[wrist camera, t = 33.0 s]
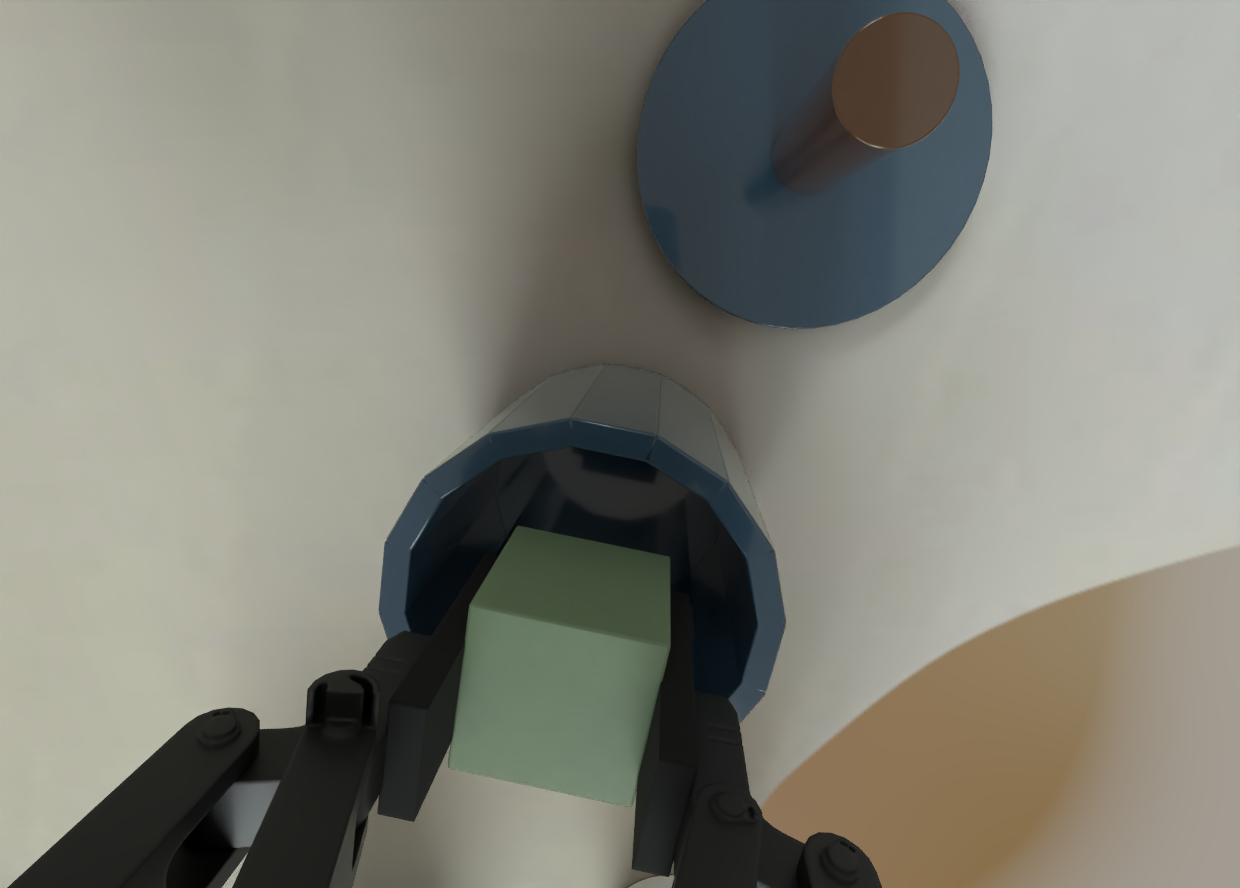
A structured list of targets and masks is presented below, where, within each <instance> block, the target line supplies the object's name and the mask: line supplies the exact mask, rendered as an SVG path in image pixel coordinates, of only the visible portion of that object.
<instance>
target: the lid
mask: <svg viewBox="0 0 1240 888" xmlns="http://www.w3.org/2000/svg"><path fill="white" fill-rule="evenodd" d="M991 138H992V104H991V97H990V91H989V84H988V79H987V76H986V72H985V69H984V65H983V62H982V58H981V56H980V53H979V51H978V49H977V47H976V44H975V42H974V40H973V38H972V35H971V34H970V32H969V30H968V29H967V27H966V26H965V24H964V23H963V21H962V19H961V18H960V16H959V15H958V13H957V12H956V11H955V10H954V9H953V7H952V6H951V5H950V4H949V3H948V2H947V1H946V0H707V1H706V2H705V3H704V4H703V5H702V6H701V7H699V8H698V9H697V10H696V11H695V12H694V13H693V15H692V16H691V17H690V18H689V19H688V21H687V22H686V23H685V24H684V25H683V27H682V28H681V29H680V30H679V32H678V33H677V34H676V36H675V38H674V39H673V41H672V42H671V44H670V45H669V47H668V48H667V50H666V52H665V53H664V55H663V57H662V59H661V61H660V63H659V65H658V67H657V69H656V71H655V74H654V76H653V78H652V81H651V84H650V86H649V89H648V92H647V95H646V98H645V101H644V105H643V110H642V115H641V119H640V124H639V132H638V143H637V175H638V182H639V188H640V195H641V200H642V203H643V207H644V211H645V214H646V218H647V221H648V223H649V225H650V228H651V230H652V233H653V235H654V237H655V240H656V242H657V243H658V245H659V247H660V249H661V250H662V252H663V254H664V255H665V257H666V259H667V260H668V262H669V263H670V264H671V265H672V267H673V268H674V269H675V271H676V272H677V273H678V275H679V276H680V277H681V278H682V279H683V280H684V281H685V282H686V283H687V284H688V285H689V286H690V287H691V288H692V289H693V290H694V291H695V292H697V293H698V294H699V295H701V296H702V297H703V298H705V299H706V300H707V301H709V302H710V303H711V304H713V305H715V306H717V307H718V308H720V309H722V310H724V311H726V312H727V313H729V314H731V315H734V316H736V317H739V318H741V319H744V320H747V321H749V322H753V323H757V324H761V325H765V326H769V327H777V328H787V329H810V328H819V327H826V326H832V325H837V324H840V323H844V322H847V321H851V320H854V319H857V318H860V317H862V316H864V315H867V314H869V313H871V312H874V311H876V310H878V309H880V308H882V307H883V306H885V305H887V304H889V303H890V302H892V301H894V300H895V299H897V298H899V297H900V296H901V295H903V294H904V293H905V292H907V291H908V290H909V289H911V288H912V287H913V286H915V285H916V284H917V283H918V282H919V281H920V280H921V279H922V278H924V277H925V276H926V275H927V274H928V273H929V272H930V271H931V270H932V269H933V268H934V267H935V266H936V265H937V263H938V262H939V261H940V260H941V259H942V257H943V256H944V255H945V254H946V253H947V251H948V250H949V249H950V248H951V246H952V245H953V243H954V242H955V240H956V239H957V237H958V236H959V234H960V233H961V231H962V229H963V228H964V226H965V224H966V222H967V220H968V218H969V216H970V214H971V212H972V210H973V208H974V206H975V204H976V201H977V198H978V195H979V193H980V190H981V187H982V184H983V182H984V178H985V173H986V169H987V165H988V161H989V156H990V147H991Z"/></svg>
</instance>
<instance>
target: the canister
mask: <svg viewBox="0 0 1240 888" xmlns="http://www.w3.org/2000/svg"><path fill="white" fill-rule="evenodd" d="M517 526H523V527H527V528H532V529H537V530H542V531H547V532H552V533H557V534H562V535H566V536H571V537H576V538H581V539H586V540H591V541H596V542H601V543H605V544H610V545H615V546H620V547H625V548H630V549H635V550H640V551H644V552H649V553H654V554H659V555H664V556H668V557H670V591H673V592H678V593H683V594H688V595H689V606H690V624H691V641H692V658H693V675H694V690H696V691H701V692H706V693H711V694H715V695H720V696H725V697H727V698H728V699H729V701H730V702H731V704H732V705H733V707H734V708H735V710H736V711H737V713H738V719H739V724H740V722H741V721H742V720H743V719H744V718H745V717H746V716H747V714H748V713H749V712H750V711H751V710H752V709H753V708H754V706H755V705H756V704H757V703H758V702H759V701H760V700H761V698H762V697H763V696H764V695H765V692H766V690H767V687H768V684H769V681H770V677H771V674H772V671H773V667H774V664H775V660H776V657H777V654H778V650H779V647H780V644H781V640H782V637H783V633H784V630H785V627H786V625H785V624H786V617H785V611H784V605H783V599H782V592H781V586H780V580H779V574H778V568H777V561H776V555H775V550H774V548H773V545H772V542H771V540H770V537H769V534H768V532H767V529H766V526H765V524H764V521H763V518H762V516H761V513H760V510H759V508H758V505H757V502H756V500H755V497H754V494H753V492H752V489H751V486H750V484H749V481H748V478H747V476H746V473H745V470H744V468H743V465H742V462H741V460H740V457H739V454H738V452H737V450H736V448H735V446H734V444H733V443H732V441H731V440H730V438H729V437H728V435H727V434H726V432H725V430H724V428H723V426H722V425H721V423H720V422H719V421H718V419H717V418H716V417H715V416H714V414H713V413H712V411H711V410H710V408H709V407H708V406H707V405H706V404H705V403H704V402H702V401H701V400H700V399H699V398H697V397H696V396H695V395H693V394H692V393H691V392H689V391H688V390H687V389H686V388H684V387H682V386H681V385H679V384H677V383H675V382H674V381H672V380H670V379H668V378H666V377H665V376H661V375H660V374H656V373H654V372H651V371H647V370H643V369H640V368H636V367H629V366H621V365H611V364H603V365H595V366H587V367H581V368H577V369H573V370H570V371H566V372H563V373H558V374H554V375H552V376H550V377H549V378H547V379H546V380H545V381H543V382H542V383H540V384H539V385H537V386H535V387H534V388H532V389H531V390H530V391H529V392H527V393H526V394H524V395H523V396H521V397H520V398H518V399H517V400H515V401H514V402H513V403H511V404H510V405H509V406H508V407H506V408H505V409H504V410H503V411H502V412H500V413H499V414H498V415H497V416H496V417H494V418H493V419H492V420H491V421H490V422H489V423H487V424H486V425H485V426H484V427H483V428H481V429H480V430H479V431H478V432H477V433H475V434H474V435H473V436H472V437H471V438H469V439H468V440H467V441H466V442H465V443H464V444H462V445H461V446H460V447H459V448H458V449H456V450H455V451H454V452H453V453H452V454H450V455H449V456H448V457H447V458H446V459H444V460H443V461H442V462H441V463H440V464H438V465H437V466H436V467H435V468H434V469H433V470H431V471H430V472H429V473H428V474H427V475H425V477H424V478H423V479H422V480H421V481H420V483H419V485H418V486H417V488H416V490H415V492H414V493H413V495H412V497H411V498H410V500H409V502H408V503H407V505H406V507H405V508H404V510H403V512H402V514H401V515H400V517H399V519H398V520H397V522H396V524H395V525H394V527H393V529H392V530H391V532H390V534H389V536H388V537H387V541H386V542H385V546H384V557H383V568H382V579H381V591H380V602H379V615H380V618H381V621H382V624H383V627H384V630H385V633H386V636H387V639H390V638H392V637H393V636H395V635H397V634H398V633H400V632H402V631H409V632H413V633H418V634H423V635H428V636H432V634H433V633H434V631H435V630H436V628H437V627H438V625H439V624H440V622H441V620H442V619H443V617H444V616H445V614H446V613H447V611H448V610H449V608H450V607H451V605H452V604H453V602H454V601H455V599H456V598H457V596H458V594H459V593H460V591H461V590H462V588H463V587H464V585H465V584H466V582H467V581H468V579H469V578H470V576H471V575H472V573H473V572H474V570H475V569H476V567H477V565H478V564H479V562H480V561H481V559H482V558H483V556H484V555H485V553H489V554H494V555H500V553H501V552H502V550H503V548H504V547H505V545H506V543H507V542H508V540H509V538H510V537H511V535H512V533H513V532H514V530H515V528H516V527H517Z"/></svg>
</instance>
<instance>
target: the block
mask: <svg viewBox="0 0 1240 888" xmlns="http://www.w3.org/2000/svg"><path fill="white" fill-rule="evenodd" d="M670 647H671V622H670V557H668V556H664V555H659V554H654V553H649V552H644V551H640V550H635V549H630V548H625V547H620V546H615V545H610V544H605V543H601V542H596V541H591V540H586V539H581V538H576V537H571V536H566V535H562V534H557V533H552V532H547V531H542V530H537V529H532V528H527V527H523V526H517V527H516V528H515V530H514V532H513V533H512V535H511V537H510V538H509V540H508V542H507V543H506V545H505V547H504V548H503V550H502V552H501V553H500V555H499V557H498V558H497V560H496V562H495V563H494V565H493V567H492V568H491V570H490V572H489V573H488V575H487V577H486V578H485V580H484V582H483V583H482V585H481V587H480V588H479V590H478V592H477V593H476V595H475V597H474V598H473V600H472V602H471V603H470V605H469V612H468V619H467V626H466V634H465V648H464V655H463V662H462V670H461V677H460V684H459V692H458V699H457V707H456V714H455V721H454V729H453V736H452V741H451V745H450V752H449V759H448V768H450V769H454V770H459V771H463V772H468V773H473V774H477V775H482V776H487V777H491V778H496V779H501V780H505V781H510V782H515V783H519V784H524V785H529V786H533V787H538V788H543V789H547V790H552V791H556V792H561V793H566V794H570V795H575V796H580V797H584V798H589V799H594V800H598V801H603V802H608V803H612V804H617V805H622V806H626V807H631V806H632V804H633V802H634V797H635V793H636V789H637V780H638V776H639V771H640V767H641V763H642V759H643V755H644V751H645V746H646V742H647V738H648V734H649V730H650V726H651V721H652V717H653V713H654V709H655V705H656V700H657V696H658V692H659V688H660V684H661V682H662V681H663V677H664V672H665V668H666V664H667V660H668V656H669V652H670Z"/></svg>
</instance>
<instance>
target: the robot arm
mask: <svg viewBox="0 0 1240 888" xmlns="http://www.w3.org/2000/svg"><path fill="white" fill-rule="evenodd" d="M498 557H499V555H494V554H489V553H485V555H484V556H483V558H482V559H481V561H480V562H479V564H478V565H477V567H476V569H475V570H474V572H473V573H472V575H471V576H470V578H469V579H468V581H467V582H466V584H465V585H464V587H463V588H462V590H461V591H460V593H459V594H458V596H457V598H456V599H455V601H454V602H453V604H452V605H451V607H450V608H449V610H448V611H447V613H446V614H445V616H444V617H443V619H442V620H441V622H440V624H439V625H438V627H437V628H436V630H435V631H434V633H433V634H432V636H428V635H423V634H418V633H413V632H409V631H402V632H400V633H398V634H397V635H395V636H393V637H392V638H390V639H388V640H386V642H385V643H384V644H383V646H382V647H381V648H380V649H379V651H378V652H377V653H376V656H375V657H373V659H372V660H371V661H370V663H369V664H368V666H367V668H365V669H364V670H363V671H357V670H339V671H335V672H332V673H329V674H325V675H324V676H322V677H320V678H319V679H317V680H315V681H314V682H313V683H312V685H311V686H310V687H309V688H308V691H307V709H306V725H304V726H300V727H294V728H283V729H260V720H259V719H258V718H257V717H256V715H255V714H254V713H252V712H250V711H247V710H245V709H241V708H223V709H217V710H212V711H210V712H207V713H204V714H202V715H199V716H197V717H196V718H194V719H193V720H192V721H190V722H189V723H187V724H186V725H185V726H183V727H182V728H181V729H180V730H179V731H178V732H177V733H176V734H175V735H174V736H173V737H171V738H170V739H169V740H168V741H167V742H166V743H165V744H164V745H163V746H162V747H161V748H159V749H158V750H157V751H156V752H155V753H154V754H153V755H152V756H151V757H150V758H149V759H147V760H146V761H145V762H144V763H143V764H142V765H141V766H140V767H139V768H138V769H136V770H135V771H134V772H133V773H132V774H131V775H130V776H129V777H128V778H127V779H126V780H124V781H123V782H122V783H121V784H120V785H119V786H118V787H117V788H116V789H115V790H114V791H112V792H111V793H110V794H109V795H108V796H107V797H106V798H105V799H104V800H103V801H102V802H100V803H99V804H98V805H97V806H96V807H95V808H94V809H93V810H92V811H91V812H89V813H88V814H87V815H86V816H85V817H84V818H83V819H82V820H81V821H80V822H79V823H77V824H76V825H75V826H74V827H73V828H72V829H71V830H70V831H69V832H68V833H67V834H65V835H64V836H63V837H62V838H61V839H60V840H59V841H58V842H57V843H56V844H55V845H53V846H52V847H51V848H50V849H49V850H48V851H47V852H46V853H45V854H44V855H42V856H41V857H40V858H39V859H38V860H37V861H36V862H35V863H34V864H33V865H32V866H30V867H29V868H28V869H27V870H26V871H25V872H24V873H23V874H22V875H21V876H20V877H18V878H17V879H16V880H15V881H14V882H13V883H12V884H11V885H10V886H9V887H8V888H222V886H223V885H224V884H225V882H226V881H227V880H228V878H229V877H230V876H231V874H232V873H233V872H234V870H235V869H236V868H237V866H238V865H239V863H240V862H241V861H242V859H243V858H244V857H245V855H246V854H247V853H248V854H247V856H246V859H245V861H244V863H243V865H242V867H241V870H240V872H239V874H238V876H237V879H236V881H235V883H234V885H233V887H232V888H352V886H353V882H354V878H355V874H356V871H357V867H358V863H359V859H360V855H361V852H362V848H363V844H364V840H365V837H366V833H367V824H368V814H369V812H370V810H371V808H372V806H373V805H374V803H375V801H376V799H377V797H378V796H379V803H378V813H377V814H380V815H385V816H389V817H394V818H399V819H403V820H408V821H412V822H414V821H415V818H416V816H417V814H418V812H419V810H420V808H421V806H422V803H423V801H424V799H425V797H426V795H427V793H428V791H429V788H430V786H431V784H432V782H433V780H434V778H435V775H436V773H437V771H438V769H439V767H440V765H441V763H442V760H443V758H444V756H445V754H446V752H447V750H448V747H449V745H450V743H451V741H452V736H453V729H454V721H455V714H456V707H457V699H458V692H459V684H460V677H461V670H462V662H463V655H464V648H465V634H466V626H467V619H468V612H469V605H470V603H471V602H472V600H473V598H474V597H475V595H476V593H477V592H478V590H479V588H480V587H481V585H482V583H483V582H484V580H485V578H486V577H487V575H488V573H489V572H490V570H491V568H492V567H493V565H494V563H495V562H496V560H497V558H498ZM670 622H671V647H670V652H669V656H668V660H667V664H666V668H665V672H664V677H663V681H662V682H661V684H660V688H659V692H658V696H657V700H656V705H655V709H654V713H653V717H652V721H651V726H650V730H649V734H648V738H647V742H646V746H645V751H644V755H643V759H642V763H641V767H640V771H639V776H638V780H637V795H636V811H635V827H634V842H633V858H632V869H633V870H638V871H642V872H647V873H652V874H656V875H661V876H665V877H669V876H670V872H671V868H672V864H673V861H674V880H673V884H672V888H882V886H881V883H880V881H879V878H878V875H877V872H876V870H875V868H874V866H873V865H872V863H871V861H870V859H869V858H868V857H867V856H866V855H865V854H864V852H863V851H862V850H861V849H860V848H859V847H858V846H856V845H855V844H853V843H852V842H850V841H849V840H847V839H846V838H844V837H841V836H838V835H836V834H833V833H820V832H819V833H816V834H814V835H812V836H810V837H809V838H808V840H807V842H806V843H805V844H804V843H802V842H800V841H798V840H796V839H794V838H792V837H790V836H788V835H786V834H784V833H782V832H781V831H779V830H777V829H776V828H774V827H773V826H771V825H770V824H769V823H768V822H767V821H766V820H764V818H763V816H762V811H761V809H760V808H759V806H758V804H757V802H756V801H755V800H754V799H753V798H752V797H751V796H750V791H749V784H748V777H747V771H746V764H745V758H744V751H743V746H742V738H741V732H740V725H739V719H738V713H737V711H736V710H735V708H734V707H733V705H732V704H731V702H730V701H729V699H728V698H727V697H725V696H720V695H715V694H711V693H706V692H701V691H696V690H694V675H693V658H692V641H691V624H690V606H689V595H688V594H683V593H678V592H673V591H670ZM248 851H249V852H248Z"/></svg>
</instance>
